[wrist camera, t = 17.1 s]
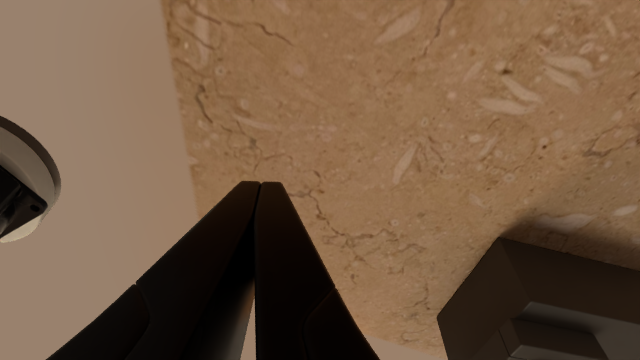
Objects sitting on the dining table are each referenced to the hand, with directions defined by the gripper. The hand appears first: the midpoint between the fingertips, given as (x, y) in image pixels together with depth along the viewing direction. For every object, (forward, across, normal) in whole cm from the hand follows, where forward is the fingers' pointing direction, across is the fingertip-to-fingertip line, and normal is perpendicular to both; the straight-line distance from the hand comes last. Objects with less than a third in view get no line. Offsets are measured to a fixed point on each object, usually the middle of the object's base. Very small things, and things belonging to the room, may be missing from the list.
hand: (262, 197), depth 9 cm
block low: (+13, -18, +19) cm, 29 cm away
